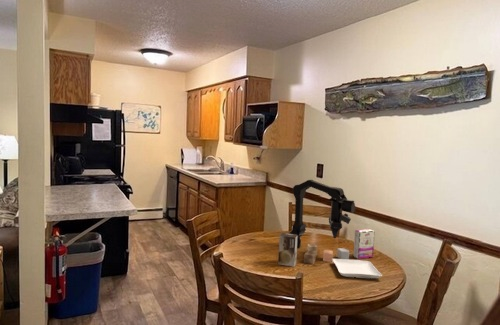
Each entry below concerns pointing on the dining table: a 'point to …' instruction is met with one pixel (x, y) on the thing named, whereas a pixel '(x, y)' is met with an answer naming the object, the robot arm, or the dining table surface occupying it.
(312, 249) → the maple block
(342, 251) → the light gray block
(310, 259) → the walnut block
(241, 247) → the dining table surface
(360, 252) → the candy bar box
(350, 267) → the salad plate
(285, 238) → the coffee box
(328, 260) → the terracotta block
